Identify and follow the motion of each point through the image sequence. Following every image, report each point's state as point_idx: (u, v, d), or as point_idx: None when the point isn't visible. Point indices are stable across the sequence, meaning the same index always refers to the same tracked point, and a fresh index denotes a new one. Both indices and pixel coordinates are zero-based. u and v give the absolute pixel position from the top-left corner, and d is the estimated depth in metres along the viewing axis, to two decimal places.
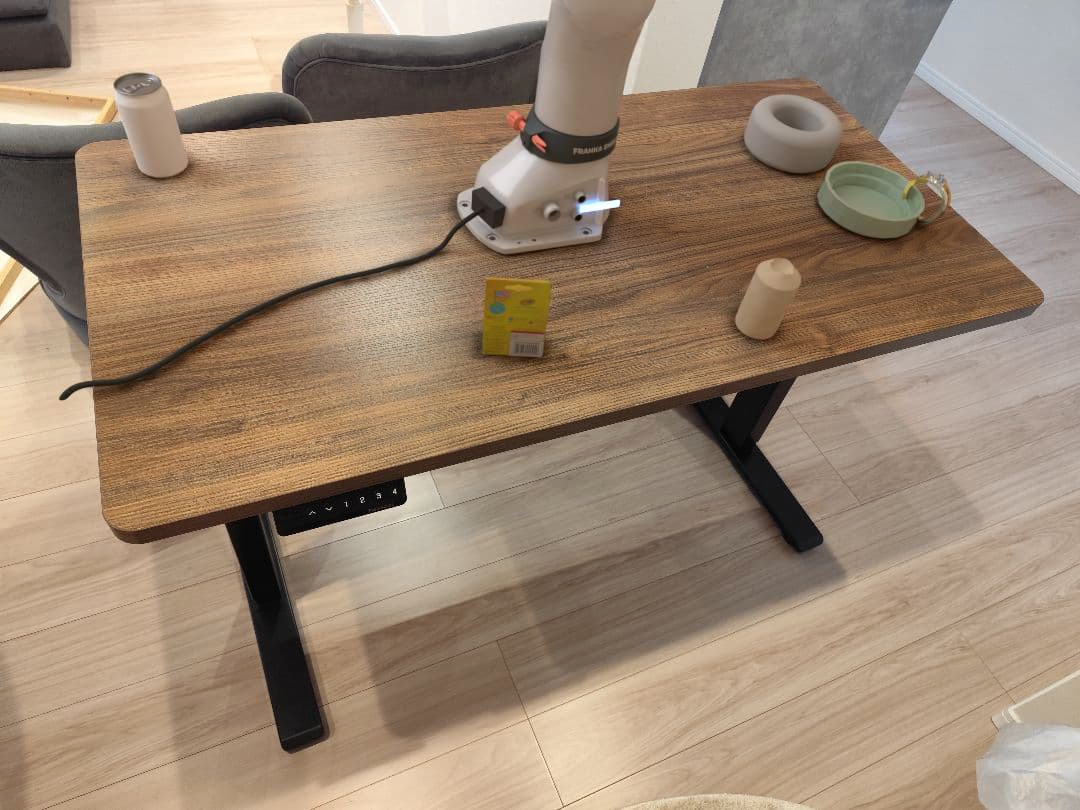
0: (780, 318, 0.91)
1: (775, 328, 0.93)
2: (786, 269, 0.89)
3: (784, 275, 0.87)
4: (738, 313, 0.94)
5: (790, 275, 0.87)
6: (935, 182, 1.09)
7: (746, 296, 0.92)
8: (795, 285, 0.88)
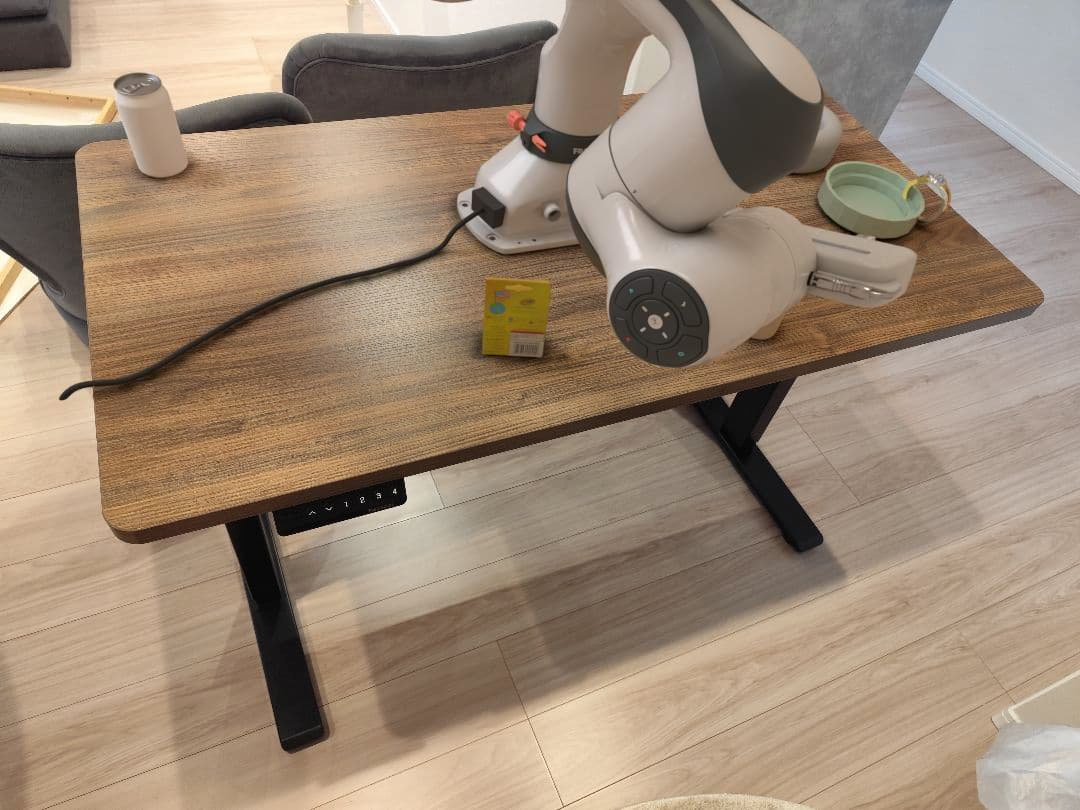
0: (780, 318, 0.91)
1: (775, 328, 0.93)
2: None
3: None
4: None
5: None
6: (935, 182, 1.09)
7: None
8: None
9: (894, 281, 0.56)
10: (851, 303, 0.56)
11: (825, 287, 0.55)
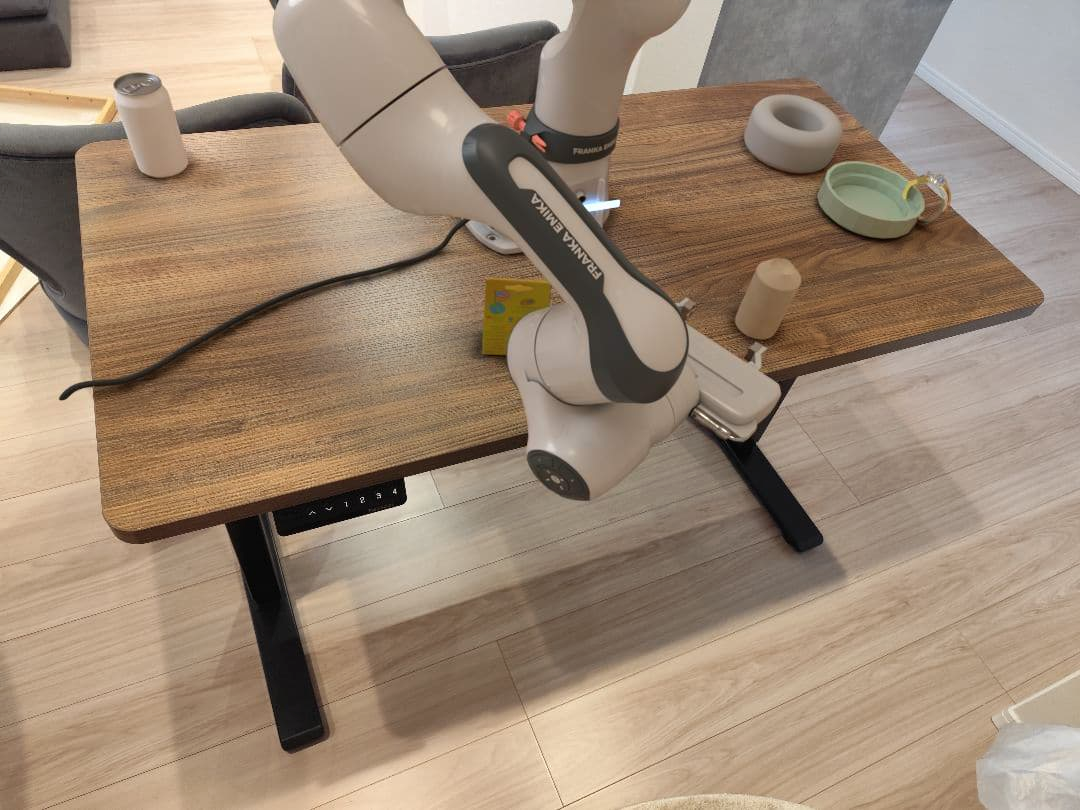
0: (780, 318, 0.91)
1: (775, 328, 0.93)
2: (786, 269, 0.89)
3: (784, 275, 0.87)
4: (738, 313, 0.94)
5: (790, 275, 0.87)
6: (935, 182, 1.09)
7: (746, 296, 0.92)
8: (795, 285, 0.88)
9: (752, 422, 0.74)
10: None
11: (700, 422, 0.74)
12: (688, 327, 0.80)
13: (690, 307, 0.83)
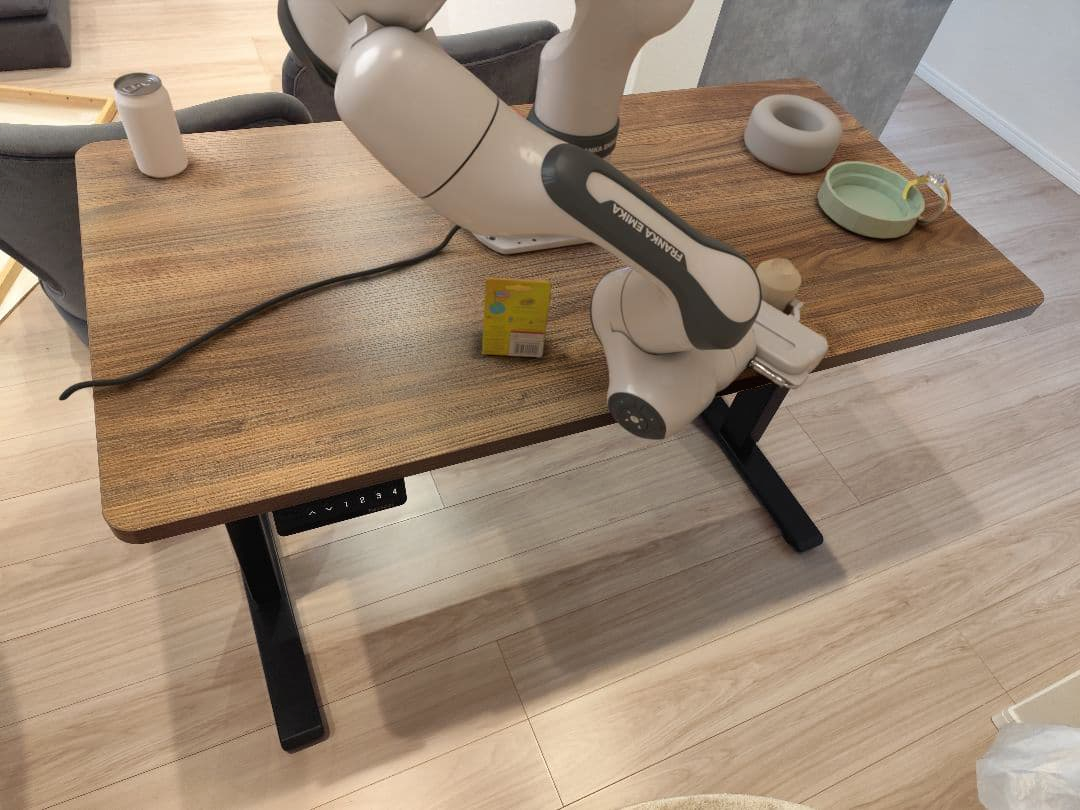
0: None
1: None
2: (786, 269, 0.89)
3: (784, 275, 0.87)
4: None
5: (790, 275, 0.87)
6: (935, 182, 1.09)
7: None
8: (795, 285, 0.88)
9: (804, 372, 0.83)
10: None
11: (757, 373, 0.83)
12: None
13: None
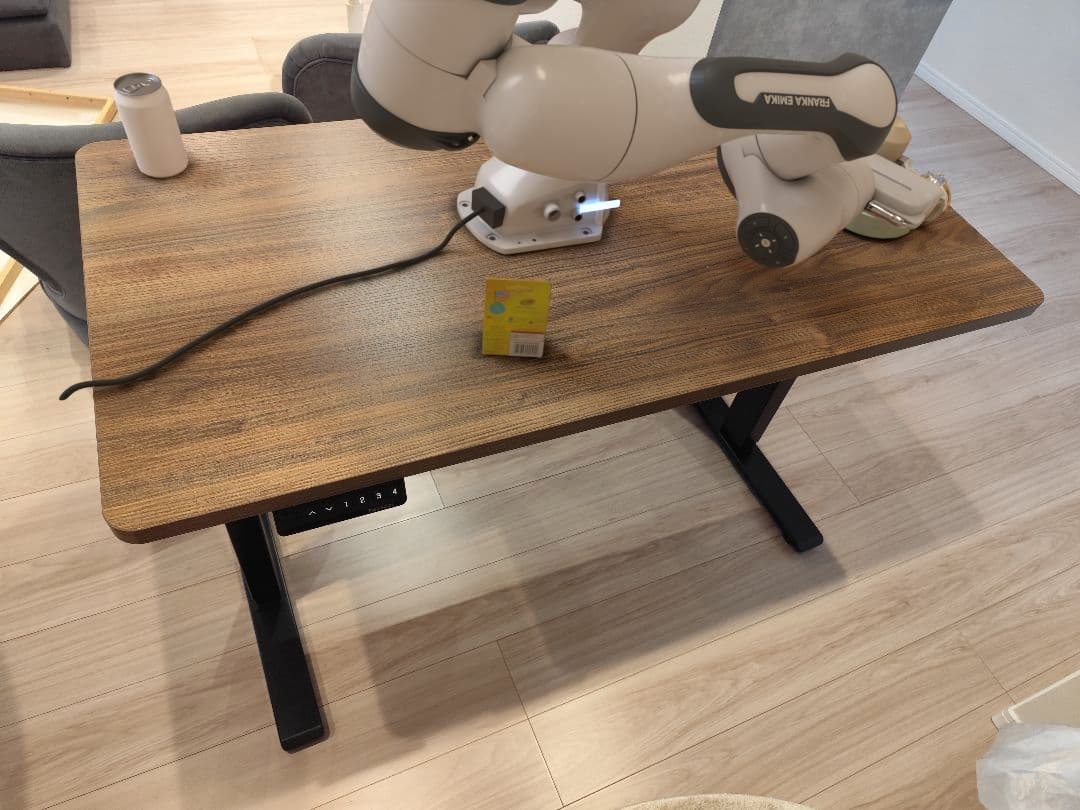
0: None
1: None
2: (897, 125, 0.91)
3: (897, 128, 0.89)
4: None
5: (902, 128, 0.90)
6: (935, 182, 1.09)
7: None
8: (907, 138, 0.90)
9: (921, 214, 0.85)
10: (889, 224, 0.86)
11: (875, 214, 0.85)
12: None
13: None
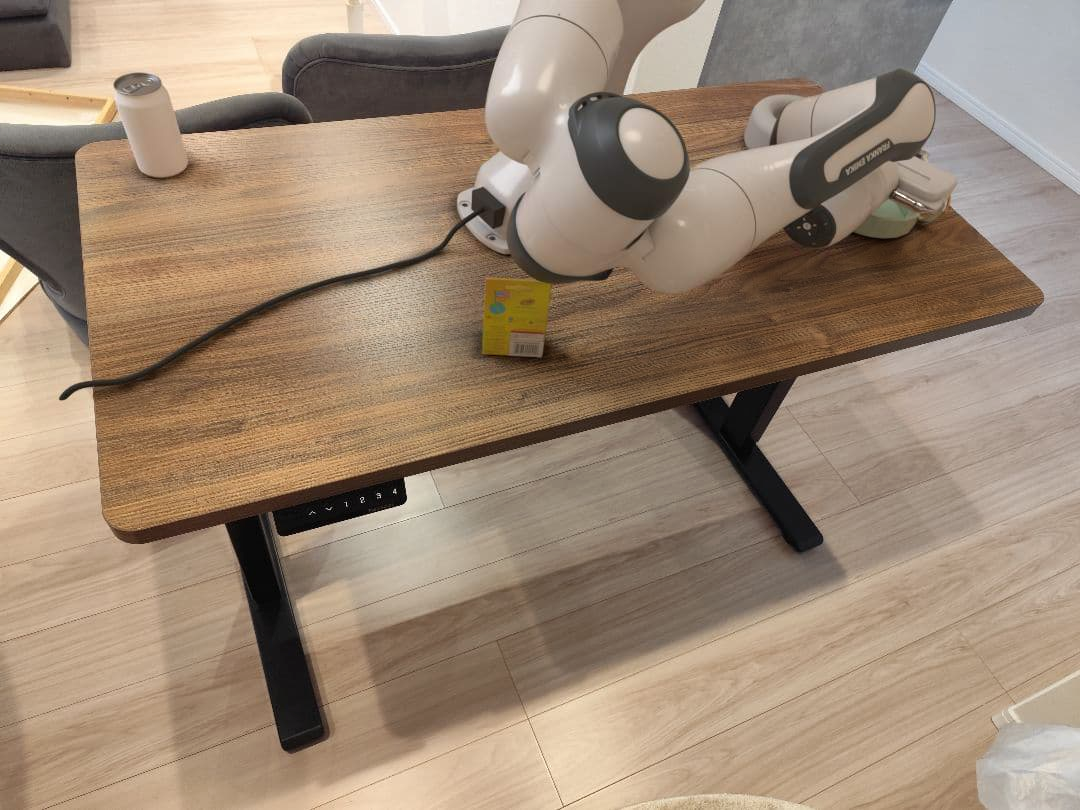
0: None
1: None
2: None
3: None
4: None
5: None
6: None
7: None
8: None
9: (939, 200, 0.98)
10: (911, 210, 0.99)
11: (899, 200, 0.98)
12: None
13: None
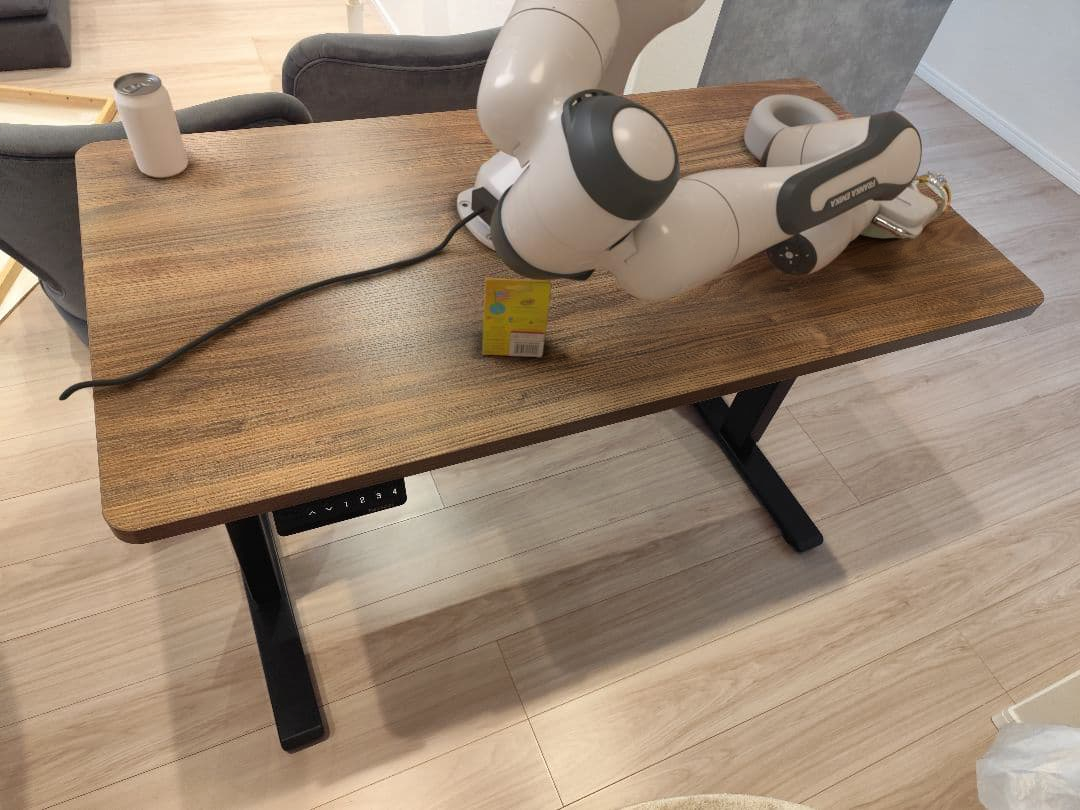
0: None
1: None
2: None
3: None
4: None
5: None
6: (935, 182, 1.09)
7: None
8: None
9: (919, 226, 1.00)
10: None
11: (880, 226, 1.00)
12: None
13: None
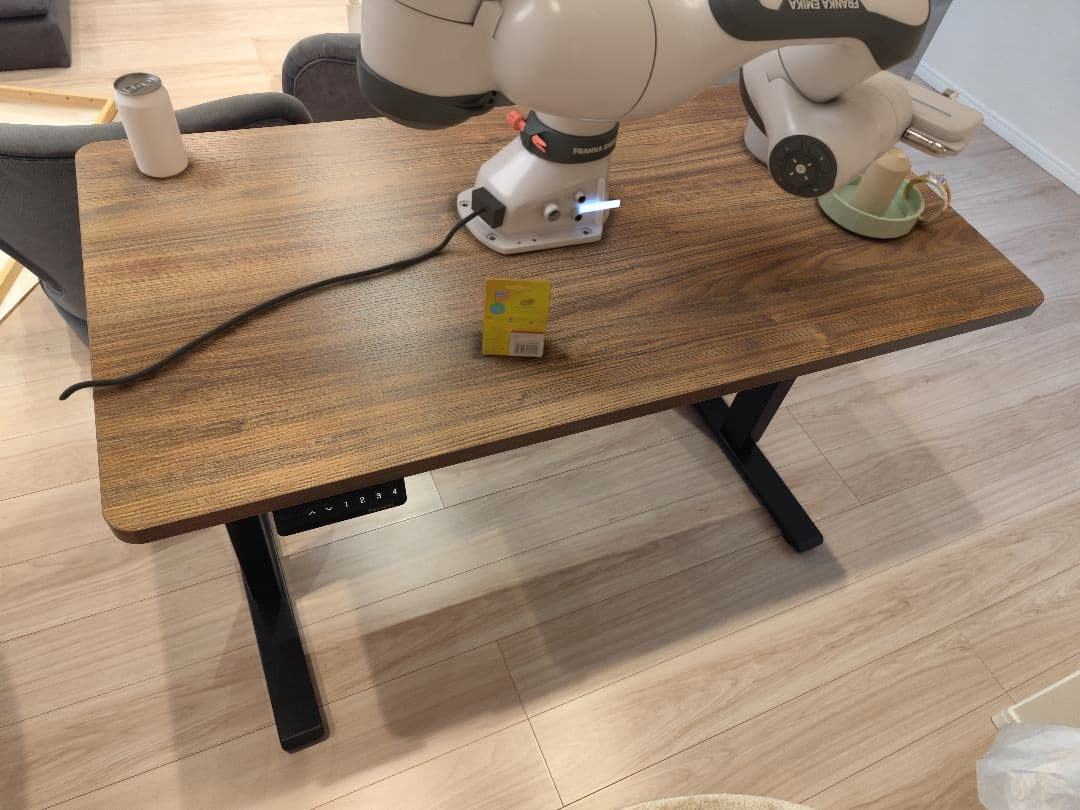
0: (891, 199, 1.10)
1: (885, 209, 1.12)
2: (899, 156, 1.07)
3: (899, 158, 1.06)
4: (853, 198, 1.13)
5: (904, 159, 1.06)
6: (935, 182, 1.09)
7: (863, 181, 1.10)
8: (907, 167, 1.06)
9: (962, 141, 0.80)
10: (928, 153, 0.82)
11: (913, 141, 0.80)
12: (888, 71, 0.86)
13: None
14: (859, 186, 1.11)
